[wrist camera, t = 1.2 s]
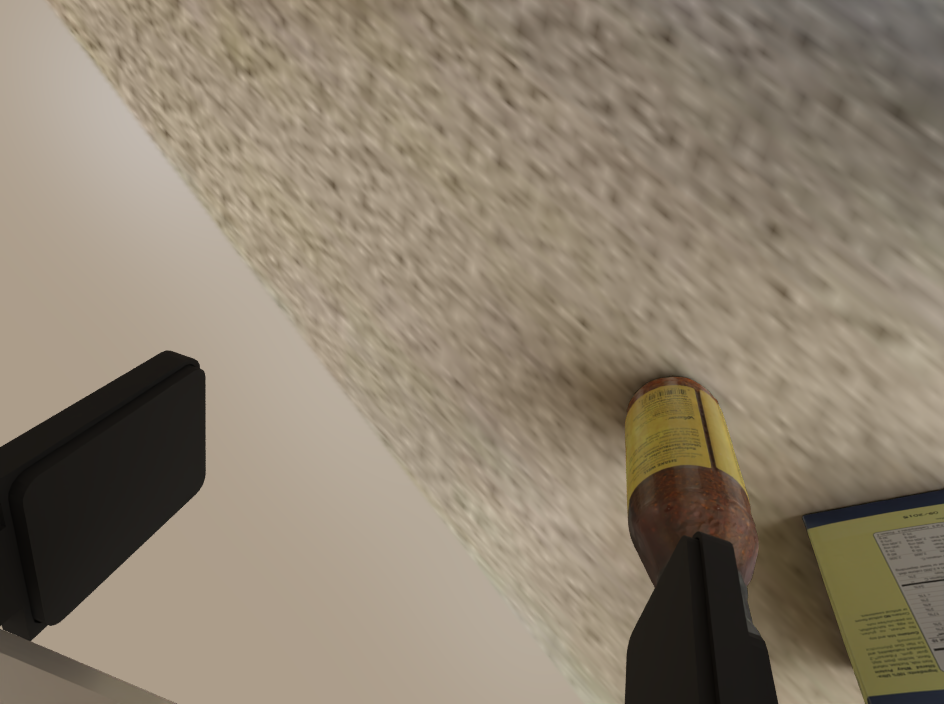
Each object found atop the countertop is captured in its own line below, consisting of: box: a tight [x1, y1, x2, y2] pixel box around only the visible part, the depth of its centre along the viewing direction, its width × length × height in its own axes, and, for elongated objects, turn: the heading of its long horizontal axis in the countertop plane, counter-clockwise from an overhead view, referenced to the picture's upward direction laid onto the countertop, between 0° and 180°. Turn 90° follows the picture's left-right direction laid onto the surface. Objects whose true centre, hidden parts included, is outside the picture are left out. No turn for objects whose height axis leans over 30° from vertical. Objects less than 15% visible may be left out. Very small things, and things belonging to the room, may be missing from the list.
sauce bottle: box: [625, 377, 760, 636], centre depth 32 cm, size 6×6×20 cm
